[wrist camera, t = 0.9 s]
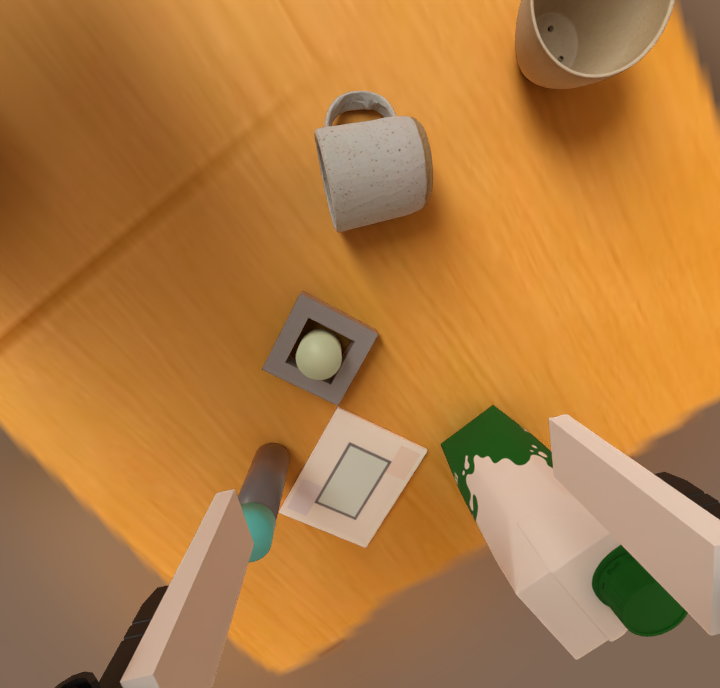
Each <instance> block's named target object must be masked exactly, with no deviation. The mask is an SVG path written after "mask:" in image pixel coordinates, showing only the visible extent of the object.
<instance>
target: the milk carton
mask: <svg viewBox="0 0 720 688" xmlns="http://www.w3.org/2000/svg"><path fill="white" fill-rule="evenodd" d="M441 446H442V449H443V451H444V454H445V456H446V459H447V461H448V463H449V466H450V468H451V471H452V473H453V476H454V478H455V481H456V483H457V486H458V488H459V490H460V492H461V494H462V496H463V498H464V500H465V502H466V504H467V506H468V508H469V510H470V512H471V514H472V516H473V518H474V519H475V521H476V523H477V525H478V527H479V529H480V531H481V533H482V535H483V537H484V539H485V541H486V543H487V545H488V547H489V548H490V550H491V552H492V554H493V556H494V558H495V560H496V562H497V564H498V565H499V567H500V569H501V570H502V572H503V573H504V575H505V577H506V578H507V580H508V582H509V583H510V585H511V587H512V588H513V590H514V592H515V593H516V595H517V596H518V597H519V598H520V599H521V600H522V601H523V603H524V604H525V605H526V606H527V607H528V608H529V609H530V610H531V611H532V612H533V613H534V615H535V616H536V617H537V618H538V619H539V620H540V621H541V622H542V623H543V624H544V625H545V626H546V628H548V630H549V631H550V632H551V633H552V634H553V635H554V636H555V637H556V638H557V640H558V641H559V642H560V643H561V644H562V645H563V646H564V647H565V648H566V649H567V650H568V651H569V653H570V654H571V655H572V656H573V657H574V658H575V659H576V660H577V659H579V658H581V657H582V656H584V655H585V654H587V653H589V652H590V651H592V650H593V649H595V648H596V647H598V646H599V645H601V644H602V643H604V642H606V641H607V640H609V641H610V642H612V641H614V640H616V639H617V638H619V637H621V636H622V635H623V634H625V632H626V631H627V630H629V631H631V632H632V633H634V634H636V635H639V636H646V637H648V636H657V635H661V634H663V633H666V632H668V631H670V630H672V629H673V628H675V627H676V626H677V625H678V624H679V623H681V622H682V621H683V619H684V618H685V617H686V615H687V614H688V612H687V611H686V610H685V609H684V608H683V607H682V606H681V605H680V604H679V603H678V602H677V601H676V600H675V599H674V598H673V597H672V596H671V595H670V594H669V593H668V592H667V591H666V590H665V589H664V588H663V587H662V586H661V585H660V584H659V583H658V582H657V581H656V580H655V579H654V578H653V577H652V576H651V575H650V574H649V573H648V572H647V571H646V569H645V568H644V567H643V566H642V565H641V564H640V563H639V562H638V561H637V560H636V559H635V558H634V557H633V556H632V555H631V554H630V553H629V552H628V551H627V550H626V549H625V548H624V547H623V546H622V545H621V544H620V543H619V542H618V541H617V540H616V539H615V538H614V537H613V536H612V535H611V534H610V533H609V532H608V531H607V530H606V529H605V528H604V527H603V526H602V525H601V524H600V523H599V522H598V521H597V520H596V519H595V517H594V516H593V515H592V514H591V513H590V512H589V511H588V510H587V509H586V508H585V507H584V506H583V505H582V504H581V503H580V502H579V501H578V500H577V499H576V498H575V497H574V496H573V495H572V494H571V493H570V492H569V491H568V490H567V489H566V488H565V487H564V486H563V485H562V484H561V483H560V482H559V481H558V480H557V479H556V478H555V477H554V473H553V462H552V452H551V451H550V450H549V449H548V448H546V447H545V446H544V445H543V444H542V443H541V442H540V441H539V440H538V439H536V438H535V437H534V436H533V435H532V434H531V433H529V432H528V431H527V430H525V429H524V428H523V427H521V426H520V425H519V424H517V423H516V422H515V421H514V420H512V419H511V418H510V417H508V416H507V415H506V414H504V413H503V412H502V411H500V410H499V409H498V408H496V407H495V406H494V405H492V406H491V407H490V408H488V409H487V410H486V411H484V412H483V413H482V414H480V415H479V416H478V417H476V418H475V419H474V420H472V421H471V422H470V423H468V424H467V425H466V426H464V427H463V428H462V429H460V430H459V431H458V432H456V433H455V434H454V435H452V436H451V437H450V438H448V439H447V440H446V441H444V442H443V443H442V444H441Z"/></svg>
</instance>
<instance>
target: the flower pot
mask: <svg viewBox="0 0 720 688" xmlns="http://www.w3.org/2000/svg"><path fill="white" fill-rule="evenodd" d="M674 2H675V0H521V3H520V7H519V12H518V17H517V23H516V32H515V51H516V58H517V62H518V65H519V68H520V70H521V72H522V73H523V75H524V76H525V77H526V78H527V79H528V80H530V81H531V82H533V83H534V84H536V85H539V86H542V87H545V88H550V89H571V88H577V87H582V86H587V85H590V84H593V83H596V82H599V81H602V80H605V79H607V78H610V77H612V76H614V75H616V74H619V73H621V72H623V71H624V70H626V69H628V68H630V67H631V66H633V65H634V64H635V63H637V62H638V61H639V60H641V59H642V58H643V57H644V56H645V55H646V54H647V53H648V52H649V51H650V49H651V48H652V47H653V46H654V44H655V43H656V42H657V40H658V39H659V37H660V36H661V34H662V33H663V31H664V29H665V27H666V25H667V23H668V20H669V17H670V15H671V12H672V9H673V6H674ZM548 28H549V31H548ZM560 56H561V57H562V58H563V59H561V58H560Z"/></svg>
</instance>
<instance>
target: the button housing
mask: <svg viewBox="0 0 720 688" xmlns="http://www.w3.org/2000/svg"><path fill="white" fill-rule="evenodd" d="M308 318H310V319H312V320H314V321H316V322H318V323H320V324H322V325H324V326H326V327H328V328H330V329H332V330H334V331H335V332H337V333H339V334H341V335H343V336H345V337H347V338H349V339H351V342H350V344H349V345H348V347H347V349H346V351H345V353H344V354H343V356H342V361H341V365H340V368H339V369H338V371H337V372H336V373H335V374H334V375H333V376H331V377H330V378H327V379H324V380H314V379H311V378H308V377H306V376H305V375H304V374H303V373H302V372H301V371H300V370H299V368H298V366H297V363H296V359H295V358H293V357H290V356H289V354H290V352H291V350H292V348H293V346H294V344H295V342H296V341H297V339H298V337H299V335H300V333H301V331H302V329H303V327H304V325H305V323H306V321H307V319H308ZM377 336H378V333H377V331H376V329H374V328H372V327H370V326H368V325H366V324H365V323H363V322H361V321H359V320H357V319H355V318H353V317H351V316H349V315H348V314H346V313H344V312H342V311H340V310H338V309H336V308H334V307H332V306H330V305H329V304H327V303H325V302H323V301H321V300H319V299H317V298H315V297H313V296H311V295H310V294H308V293H306V292H304V291H302V292H301V293H300V295H299V297H298V299H297V301H296V303H295V305H294V307H293V309H292V311H291V313H290V315H289V317H288V319H287V321H286V323H285V325H284V327H283V329H282V331H281V333H280V335H279V337H278V339H277V341H276V343H275V345H274V347H273V349H272V351H271V353H270V355H269V357H268V359H267V360H266V362H265V364H264V366H263V368H262V370H264V371H266V372H268V373H270V374H272V375H274V376H276V377H279V378H281V379H283V380H285V381H287V382H289V383H291V384H293V385H295V386H298V387H300V388H302V389H304V390H306V391H308V392H310V393H312V394H314V395H316V396H319V397H321V398H323V399H325V400H327V401H329V402H331V403H333V404H335V405H339V403H340V401H341V400H342V398H343V396H344V394H345V393H346V391H347V389H348V387H349V385H350V384H351V382H352V380H353V378H354V377H355V375H356V373H357V371H358V369H359V368H360V366H361V364H362V362H363V361H364V359H365V357H366V355H367V353H368V352H369V350H370V348H371V346H372V345H373V343H374V341H375V339H376V337H377Z"/></svg>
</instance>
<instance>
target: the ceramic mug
mask: <svg viewBox="0 0 720 688" xmlns="http://www.w3.org/2000/svg"><path fill="white" fill-rule="evenodd" d="M362 109H365V110H370V109H373V110H375V111H377V112H379V113H380V114H381V115H382V116H383V117H384V118H380V119H376V120H372V121H364V122H357V123H349V124H343V125H337V126H332V123H333V121H334V120H335V118H336V117H337V116H338V115H339V114H342V113H343V112H346V111H351V110H362ZM315 141H316V147H317V152H318V159H319V164H320V169H321V175H322V178H323V183H324V189H325V193H326V197H327V203H328V206H329V210H330V214H331V218H332V221H333V225H334V228H335V230H336V231H337V232H343V231H347V230H350V229H354V228H358V227H363V226H367V225H371V224H375V223H378V222H382V221H386V220H390V219H394V218H398V217H403V216H407V215H410V214H412V213H414V212H417V211H419V210H421V209H422V208H424V206H425V205H426V204H427V203H428V201H429V198H430V196H431V192H432V185H433V165H432V156H431V150H430V145H429V142H428V138H427V135H426V132H425V130H424V128H423V126H422V125H421V124H420V123H419V122H418V120H417V119H415V118H413V117H407V116H396V113H395V112H394V110H393V107H392V106H391V105H390V103H389V102H388V101H387V100H386V99H385V98H384V97H382V96H380V95H378V94H376V93H373V92H369V91H352V92H348V93H345V94H343V95H341V96H339V97H337V98H336V99H335V100H334V101H333V103H332V104H331V105H330V107H329V110H328V111H327V115H326V119H325V127H322V128H319V129H316V130H315Z"/></svg>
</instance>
